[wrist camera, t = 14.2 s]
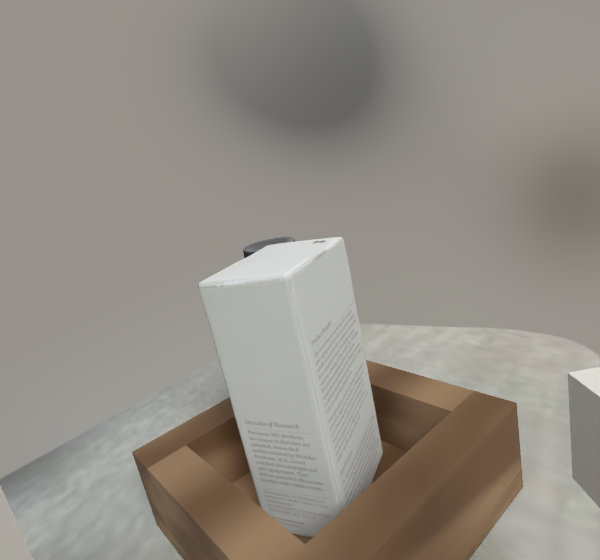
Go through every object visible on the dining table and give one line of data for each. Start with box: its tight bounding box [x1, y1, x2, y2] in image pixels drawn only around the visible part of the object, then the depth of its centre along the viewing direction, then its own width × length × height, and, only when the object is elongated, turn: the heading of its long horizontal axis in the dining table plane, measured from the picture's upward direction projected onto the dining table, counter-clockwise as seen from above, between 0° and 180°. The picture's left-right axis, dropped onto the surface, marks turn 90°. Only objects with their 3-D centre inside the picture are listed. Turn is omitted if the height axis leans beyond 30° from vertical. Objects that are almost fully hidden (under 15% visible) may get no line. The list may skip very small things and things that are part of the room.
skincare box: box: [198, 237, 383, 538], centre depth 20 cm, size 6×4×12 cm
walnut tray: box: [132, 360, 523, 560], centre depth 21 cm, size 13×13×4 cm
